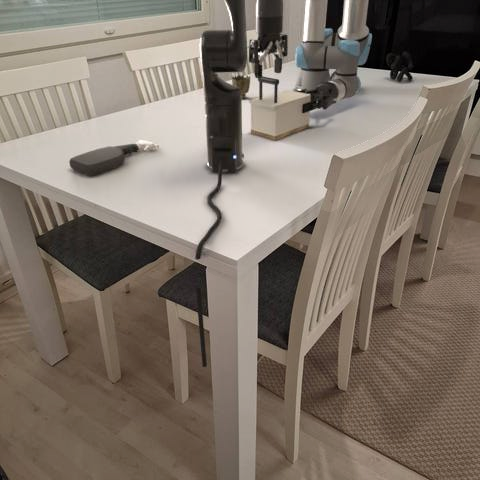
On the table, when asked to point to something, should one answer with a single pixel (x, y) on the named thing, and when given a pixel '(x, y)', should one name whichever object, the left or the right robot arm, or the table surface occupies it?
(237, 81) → the mottled brown jagged dome
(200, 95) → the table surface
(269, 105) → the lid
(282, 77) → the table surface
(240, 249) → the table surface
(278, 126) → the cream rectangular box
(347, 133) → the table surface
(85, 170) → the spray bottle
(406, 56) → the squiggle
